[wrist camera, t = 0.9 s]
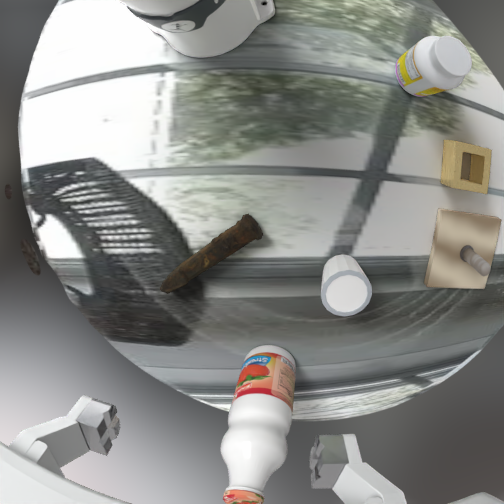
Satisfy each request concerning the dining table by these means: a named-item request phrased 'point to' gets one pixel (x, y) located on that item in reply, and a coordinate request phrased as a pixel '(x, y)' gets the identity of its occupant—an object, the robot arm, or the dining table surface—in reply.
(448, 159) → the tan square frame block
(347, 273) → the shot glass
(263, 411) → the fruit juice
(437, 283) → the post stand
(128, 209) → the dining table surface
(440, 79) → the supplement bottle
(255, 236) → the hand tool
